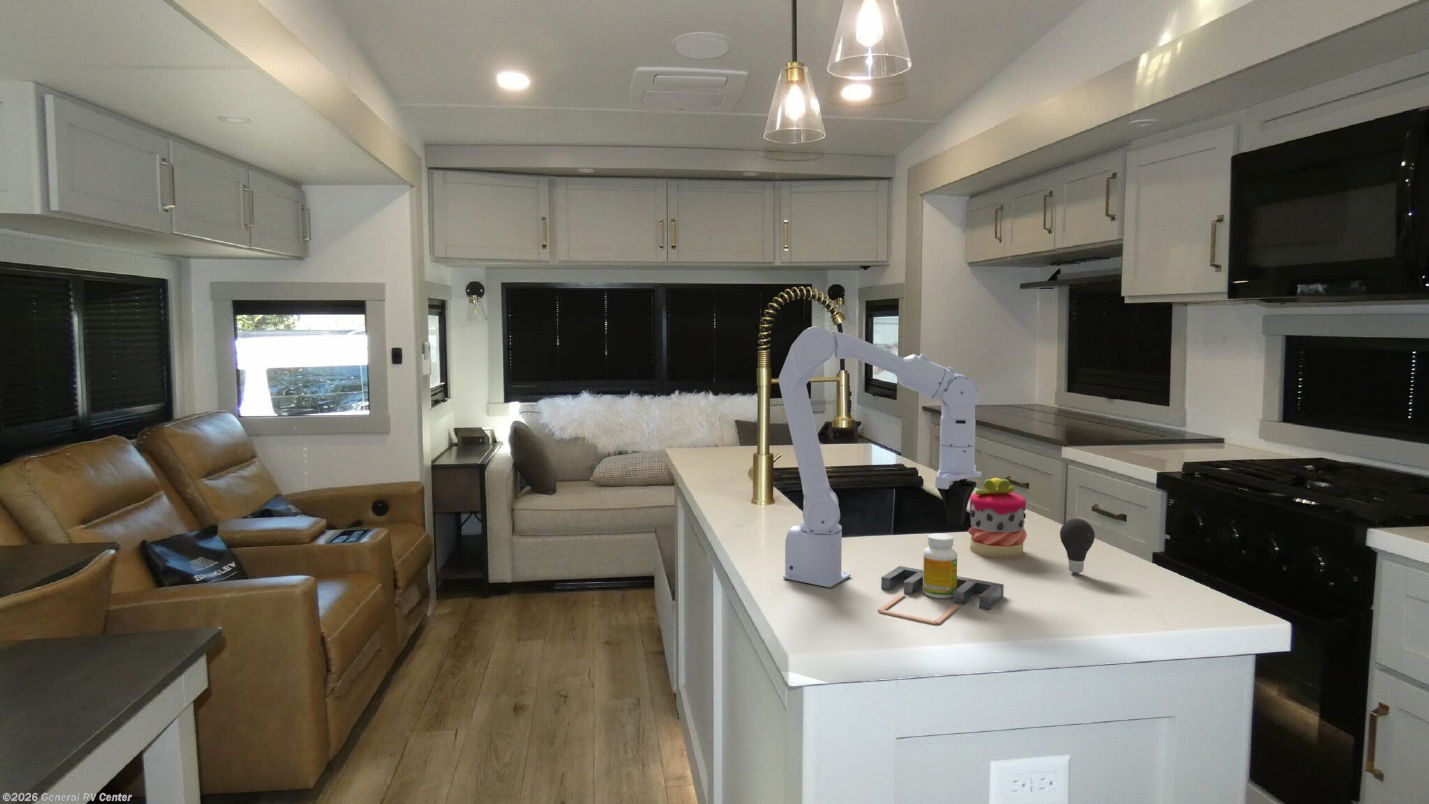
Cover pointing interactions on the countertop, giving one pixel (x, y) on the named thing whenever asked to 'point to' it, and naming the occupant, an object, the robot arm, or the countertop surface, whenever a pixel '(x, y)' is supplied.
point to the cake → (997, 520)
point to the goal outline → (901, 596)
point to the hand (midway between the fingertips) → (955, 523)
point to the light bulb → (1077, 542)
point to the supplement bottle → (940, 567)
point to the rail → (962, 594)
